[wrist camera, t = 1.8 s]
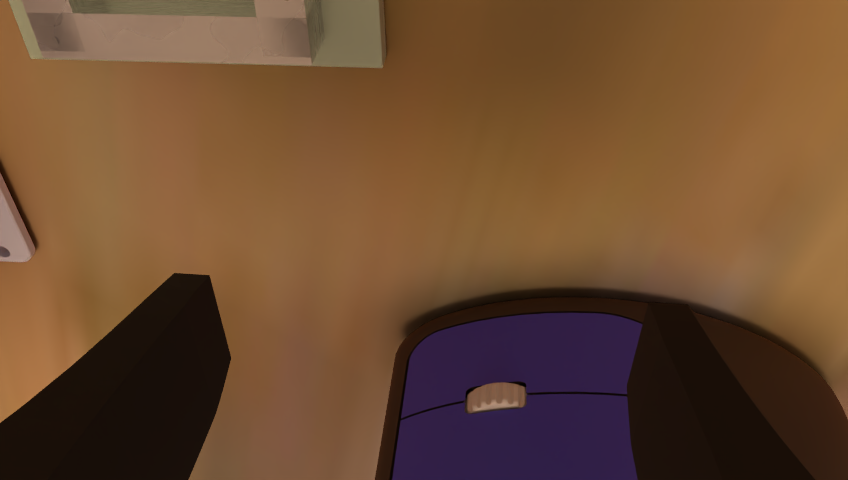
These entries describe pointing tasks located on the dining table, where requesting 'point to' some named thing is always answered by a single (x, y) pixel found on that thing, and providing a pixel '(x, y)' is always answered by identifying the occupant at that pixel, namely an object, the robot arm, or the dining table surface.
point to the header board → (206, 31)
